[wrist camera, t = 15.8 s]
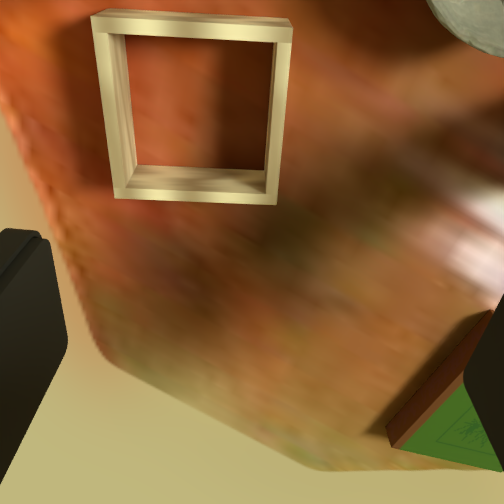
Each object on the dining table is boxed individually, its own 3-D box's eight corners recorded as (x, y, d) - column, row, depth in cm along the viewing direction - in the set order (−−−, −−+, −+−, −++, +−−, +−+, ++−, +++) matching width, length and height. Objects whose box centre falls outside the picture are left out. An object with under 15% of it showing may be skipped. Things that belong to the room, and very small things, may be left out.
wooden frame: (287, 18, 35) (292, 27, 31) (273, 180, 43) (276, 205, 39) (109, 8, 35) (90, 16, 31) (127, 174, 43) (114, 198, 39)
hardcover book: (488, 306, 53) (502, 328, 50) (609, 344, 57) (630, 367, 54) (382, 426, 66) (388, 450, 63) (486, 451, 70) (498, 475, 67)
